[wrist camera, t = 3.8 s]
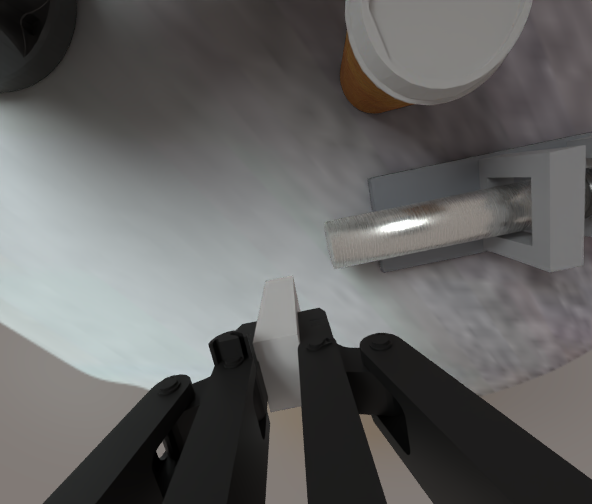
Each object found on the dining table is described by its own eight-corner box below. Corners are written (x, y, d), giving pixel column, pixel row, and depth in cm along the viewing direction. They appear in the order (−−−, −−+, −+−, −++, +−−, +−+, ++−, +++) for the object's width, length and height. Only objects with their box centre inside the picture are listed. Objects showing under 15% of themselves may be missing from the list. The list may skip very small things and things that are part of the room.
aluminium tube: (330, 262, 28) (338, 277, 24) (322, 217, 27) (329, 224, 23) (569, 213, 28) (618, 219, 24) (569, 166, 27) (621, 164, 23)
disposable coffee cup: (323, 7, 25) (358, -140, 14) (437, 14, 26) (565, -123, 14) (318, 131, 27) (344, 95, 16) (423, 135, 28) (523, 103, 16)
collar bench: (380, 269, 31) (432, 318, 20) (367, 178, 29) (417, 178, 18) (659, 212, 30) (863, 230, 20) (666, 116, 28) (899, 78, 18)
